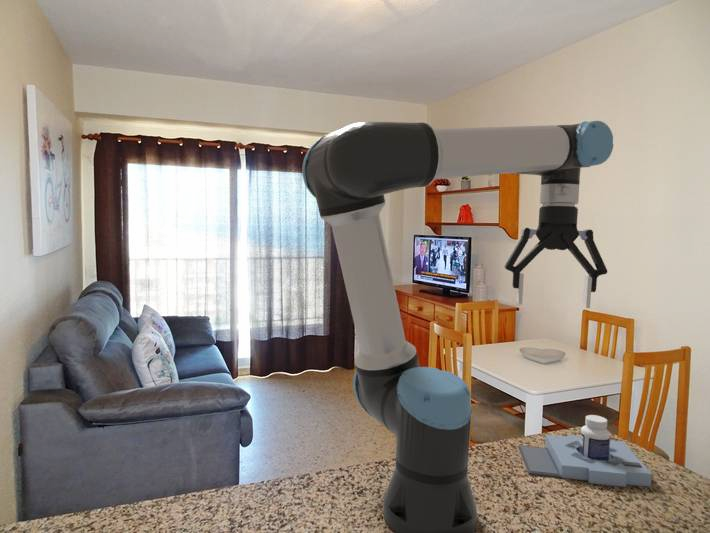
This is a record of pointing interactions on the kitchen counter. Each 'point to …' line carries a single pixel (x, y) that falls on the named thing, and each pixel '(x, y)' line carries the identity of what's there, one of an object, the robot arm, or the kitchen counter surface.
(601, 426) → the pill bottle
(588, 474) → the dock
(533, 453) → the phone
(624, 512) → the kitchen counter surface
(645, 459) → the kitchen counter surface
